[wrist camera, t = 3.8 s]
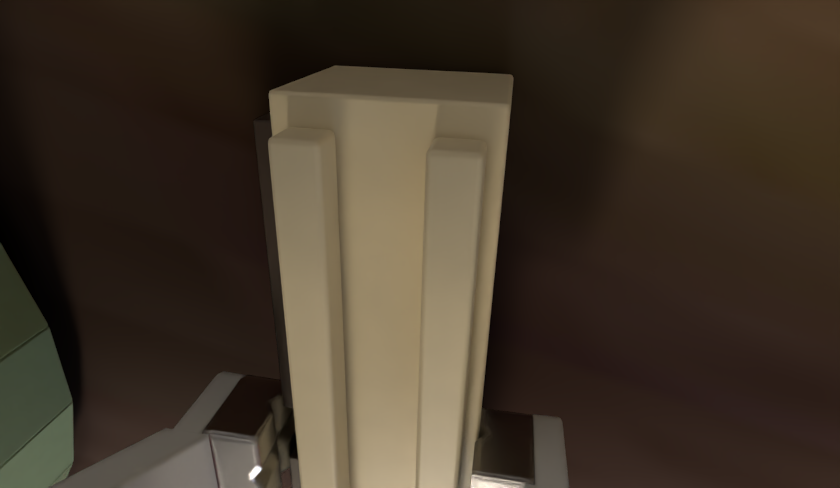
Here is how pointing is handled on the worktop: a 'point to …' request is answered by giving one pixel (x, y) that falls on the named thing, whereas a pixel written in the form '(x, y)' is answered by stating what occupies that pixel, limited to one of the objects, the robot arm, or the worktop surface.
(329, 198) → the grooved wooden strip
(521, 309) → the worktop surface
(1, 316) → the bowl
